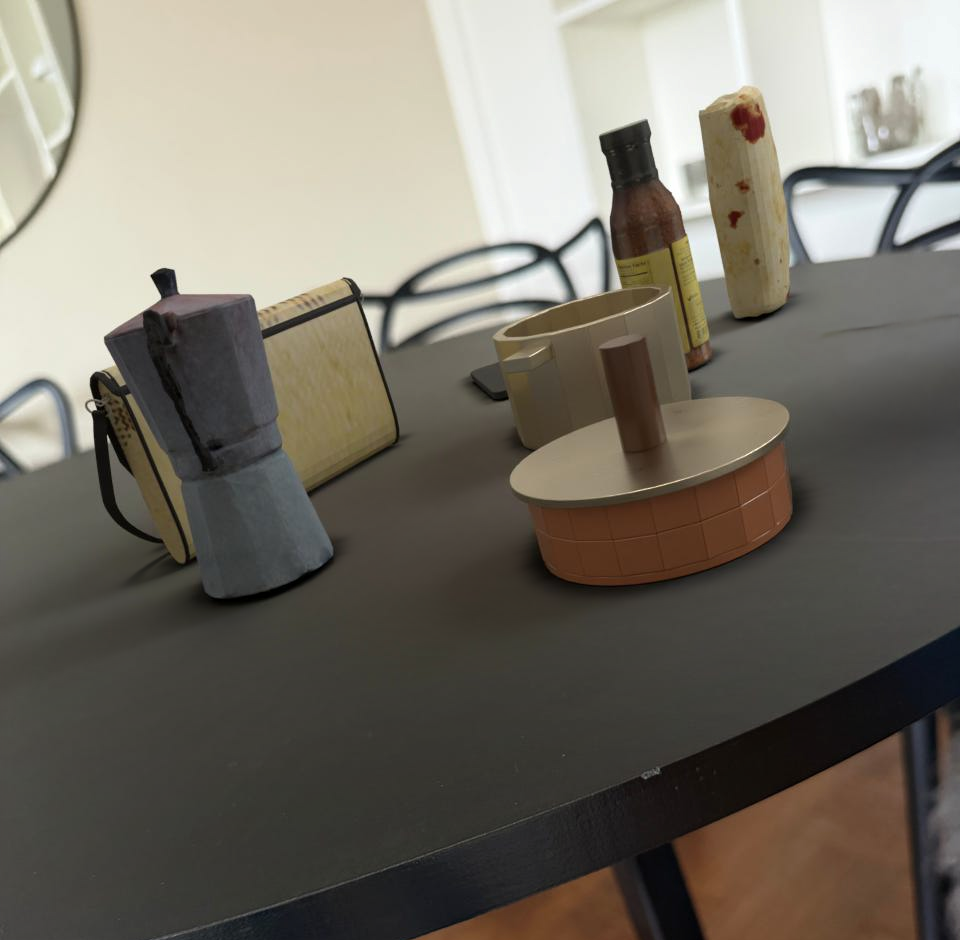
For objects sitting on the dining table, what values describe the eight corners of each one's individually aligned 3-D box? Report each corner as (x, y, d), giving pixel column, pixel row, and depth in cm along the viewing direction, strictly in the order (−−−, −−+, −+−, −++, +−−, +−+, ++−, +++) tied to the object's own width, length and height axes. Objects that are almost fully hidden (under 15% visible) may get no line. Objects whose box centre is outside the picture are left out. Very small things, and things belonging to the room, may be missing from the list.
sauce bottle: (692, 354, 93) (646, 117, 85) (727, 359, 87) (682, 107, 79) (627, 377, 92) (575, 140, 84) (659, 384, 86) (607, 130, 78)
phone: (493, 394, 97) (467, 371, 111) (496, 402, 98) (469, 379, 111) (567, 370, 98) (532, 351, 111) (569, 378, 98) (534, 358, 112)
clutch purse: (365, 441, 98) (312, 283, 92) (419, 436, 94) (367, 269, 88) (116, 579, 79) (28, 389, 73) (170, 580, 74) (81, 378, 68)
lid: (833, 404, 55) (816, 278, 52) (722, 515, 45) (694, 368, 42) (597, 427, 64) (572, 322, 61) (462, 524, 54) (425, 403, 51)
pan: (829, 476, 56) (817, 397, 55) (731, 587, 47) (714, 497, 46) (615, 488, 65) (599, 420, 63) (498, 584, 56) (475, 508, 54)
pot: (733, 372, 83) (714, 264, 80) (624, 457, 70) (596, 334, 67) (590, 390, 91) (568, 293, 88) (470, 469, 79) (438, 360, 75)
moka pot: (340, 522, 75) (241, 243, 67) (349, 592, 61) (225, 249, 53) (215, 562, 75) (101, 286, 67) (196, 642, 61) (47, 304, 53)
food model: (795, 314, 96) (760, 80, 88) (723, 330, 98) (683, 104, 90) (802, 293, 104) (771, 76, 96) (736, 308, 106) (700, 99, 98)
